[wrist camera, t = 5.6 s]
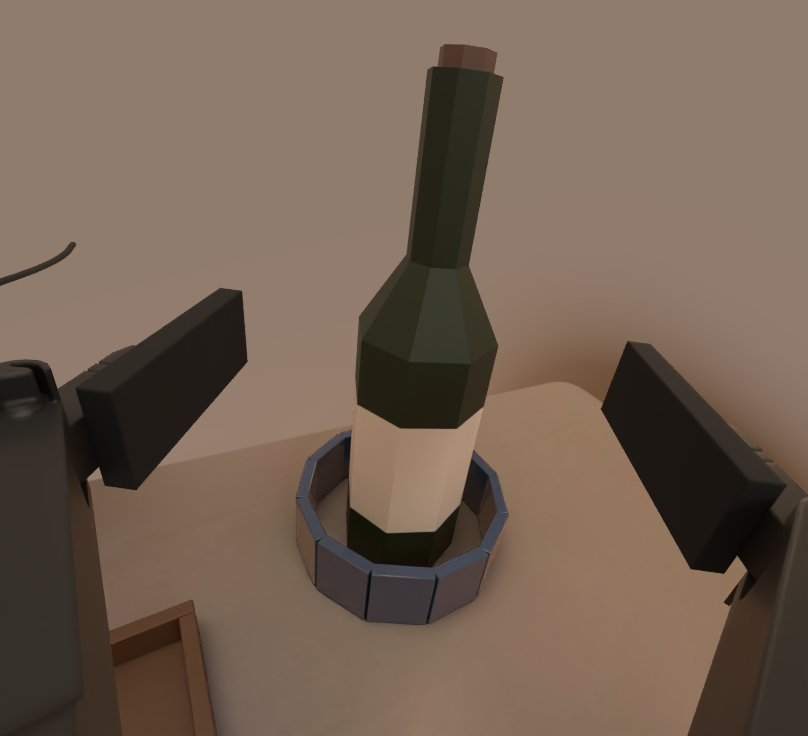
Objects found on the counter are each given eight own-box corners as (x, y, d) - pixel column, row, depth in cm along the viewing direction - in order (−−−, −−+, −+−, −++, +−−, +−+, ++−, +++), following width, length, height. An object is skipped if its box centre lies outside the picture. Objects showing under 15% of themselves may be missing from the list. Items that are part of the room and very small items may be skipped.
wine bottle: (324, 556, 30) (341, 19, 16) (364, 477, 38) (401, 56, 23) (440, 593, 29) (575, 39, 14) (458, 504, 36) (561, 72, 22)
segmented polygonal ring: (274, 492, 35) (272, 449, 33) (425, 447, 42) (432, 409, 40) (348, 668, 24) (352, 621, 22) (533, 568, 32) (550, 525, 29)
